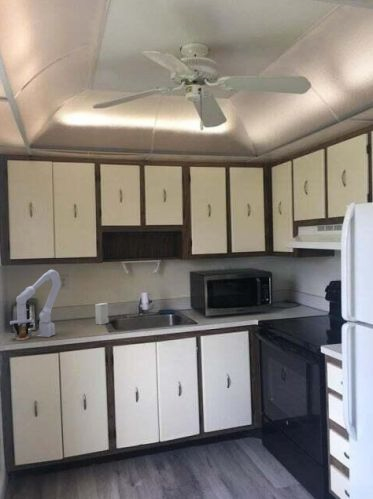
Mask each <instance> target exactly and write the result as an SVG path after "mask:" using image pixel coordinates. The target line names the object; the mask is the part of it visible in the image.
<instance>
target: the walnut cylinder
mask: <svg viewBox="0 0 373 499" xmlns="http://www.w3.org/2000/svg"><path fill="white" fill-rule="evenodd" d="M18 333H19V336H18V337H20V338H22V337H27V327H26V326H20V327H19V326H18Z"/></svg>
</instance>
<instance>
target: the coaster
mask: <svg viewBox="0 0 373 499" xmlns="http://www.w3.org/2000/svg"><path fill="white" fill-rule="evenodd" d="M15 339H16V340H17V341H24V340H28V339H30V335H29V336H27V337H22V338H20V337H19V336H18V337H15Z"/></svg>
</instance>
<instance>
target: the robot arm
mask: <svg viewBox="0 0 373 499" xmlns="http://www.w3.org/2000/svg"><path fill="white" fill-rule="evenodd" d="M49 281H50V282H51V283H52V287H51V289H50V292H49V294H48V296H47V300H46V302H45V304H44V307H43V308H42V310H41V311H40V312H39V315H38V318H39V324H38V326H39V334H38V335H36V337H43V338H44V337H45V338H50V337H52V336H55V335H56V334H57V333H56V325H55V323H54V322H52V321H51V314H52V309H53V306H54V304H55V302H56V299H57V296H58V294H59V291H60V288H61V286H62V281H61V277H60V274H59V273H58V271H57V270H54V269H49V270H47V272H45V273H44V274H42V276H41V277H40V278H38V279H37V281H36V282H35V283H34V284H32V285H30V286H28V287H25V290H23V291H22V292H20V294H19V295H17V296H16V299H15V302H16V320H10V321H9V325H10V326H11V325H13V328H14V329H15V332H17V335H19V333H18V328H19V325H21V324H25V325H26V326H25V327H27V334H28V331H29V329H30V327H31V324H32V323H35V319H34V318H32V319H28V318H27V306H26V304H27V301H28V300H29V299H30V298H31V297H32V296H33V295H35V293H36V290H37V289H38V288H39V287H41V286H42V284H44V283H45V282H49Z"/></svg>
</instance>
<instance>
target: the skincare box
mask: <svg viewBox="0 0 373 499" xmlns="http://www.w3.org/2000/svg"><path fill="white" fill-rule="evenodd" d="M94 306H95V308H94V311H95V324H96V325H104V324H108V323H109V303H107V302H100V303H96V304H94Z"/></svg>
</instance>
